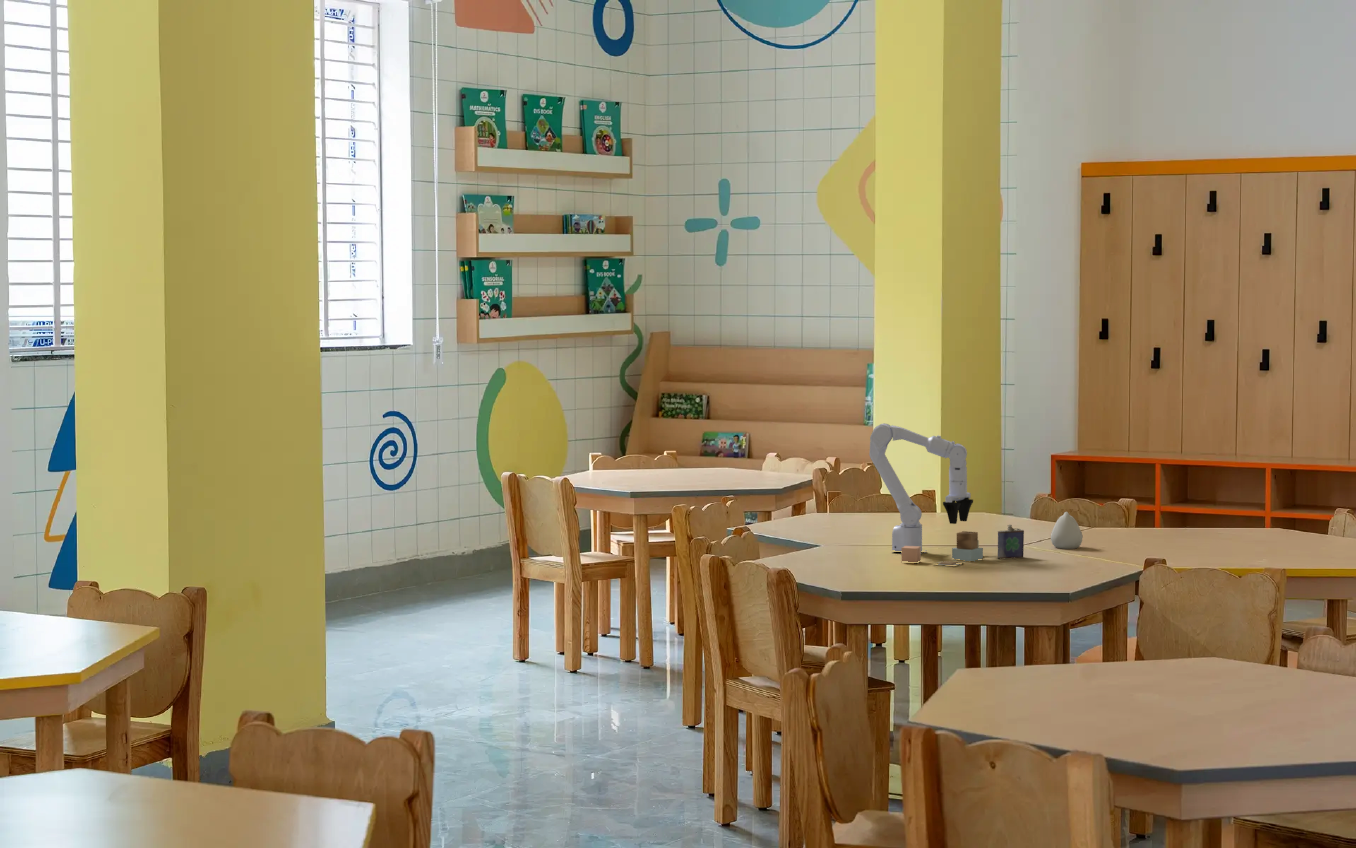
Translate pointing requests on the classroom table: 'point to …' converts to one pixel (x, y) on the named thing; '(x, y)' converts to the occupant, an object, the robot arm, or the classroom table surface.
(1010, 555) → the flask
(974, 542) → the walnut cube
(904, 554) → the terracotta cube
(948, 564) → the grey square frame
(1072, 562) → the classroom table surface
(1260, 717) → the classroom table surface
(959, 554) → the base block
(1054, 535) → the grey teardrop shape
